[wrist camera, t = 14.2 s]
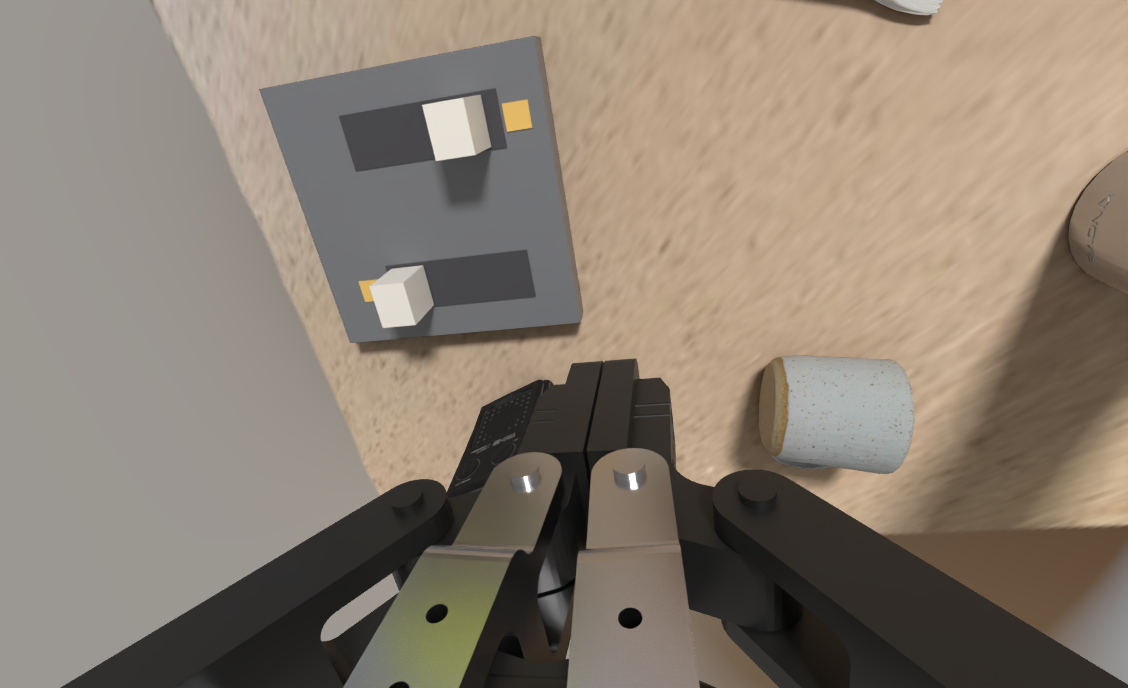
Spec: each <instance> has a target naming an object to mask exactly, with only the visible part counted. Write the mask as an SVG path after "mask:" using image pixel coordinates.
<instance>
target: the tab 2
mask: <svg viewBox="0 0 1128 688" xmlns="http://www.w3.org/2000/svg"><path fill="white" fill-rule="evenodd" d="M422 107H423V111H424V115H425V119H426V123H427V127H428V131H429V135H430V139H431V143H432V147H433V151H434V155H435V159H436V161H440V160H446V159H453V158H459V157H466V156H472V155H476V154H478V153H480V152H482V151H484V150H486V149H488V148H490V147H491V143H490V138H489V133H488V128H487V123H486V118H485V113H484V108H483V104H482V99H481V95H475V96H469V97H464V98H458V99H452V100H447V101H441V102H436V103H430V104H425V105H422Z"/></svg>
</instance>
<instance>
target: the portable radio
mask: <svg viewBox="0 0 1128 688" xmlns="http://www.w3.org/2000/svg"><path fill="white" fill-rule="evenodd" d="M551 385H553V383H552V382H551V381H549V380H544V381H542V380H537V381H535V382H533V383H531V384H528V385H526V386H524V387H522V388H520V389H518V390H516V391H514V392H511V393H509V394H507V395H505V396H503V397H501V398H499V399H497V400H495V401H493V402H491V403H489V404H487V405H485V406H483V407H482V408H481V411H480V413H479V416H478V419H477V422H476V425H475V427H474V430H473V432H472V435H471V437H470V440H469V442H468V444H467V447H466V449H465V452H464V454H463V456H462V459H461V461H460V463H459V465H458V468H457V470H456V472H455V475H454V477H453V479H452V482H451V484H450V486H449V488H448V491H447V496H448V498H452V497H456V496H459V495H463V494H467V493H471V492H475V491H478V490H481V489H483V487H484V485H485V484H486V482H487V480H488V478H489V476H490V474H491V473H492V471H493V470H494V469H495V468H496V467H497V466H498V465H499V464H500V463H502V462H503V461H505V460H507V459H509V458H511V457H513V456H516V455H517V453H518V450H519V448H520V445H521V443H522V440H523V437H524V435H525V432H526V429H527V427H528V424H530V419H531V416H532V414H533V413H534V409H535V406H536V403H537V401H538V398H539V397H540V396H541V395H542V394H543V393H544V392H545V391H546V390H547V389H548V388H549V387H550V386H551Z"/></svg>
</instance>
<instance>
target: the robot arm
mask: <svg viewBox="0 0 1128 688" xmlns="http://www.w3.org/2000/svg"><path fill="white" fill-rule="evenodd" d="M1068 239H1069V245H1070V251H1071V253H1072V255H1073V257H1074V259H1075V261H1076V263H1077V264H1078V265H1079V266H1080V267H1081V268H1082V269H1083V270H1084V272H1085V273H1087V274H1089V275H1090V276H1092V277H1094V278H1095V279H1097V280H1099V281H1101V282H1103V283H1105V284H1107V285H1109V286H1111V287H1113V288H1115V289H1117V290H1119V291H1122V292H1124V293H1126V294H1128V151H1127V152H1126V153H1124V154H1123V155H1121V156H1119V157H1118V158H1116V159H1115V160H1114V161H1113V162H1111V163H1110V164H1109V165H1108V166H1107V167H1106V168H1105V169H1103V170H1102V171H1101V172H1100V173H1099V174H1098V175H1097V176H1096V177H1095V178H1094V180H1093V181H1092V182H1091V183H1090V184H1089V186H1088V187H1087V188H1086V189H1085V191H1084V192H1083V194H1082V196H1081V197H1080V199H1079V201H1078V203H1077V204H1076V206H1075V209H1074V212H1073V215H1072V217H1071V220H1070V226H1069V235H1068ZM391 573H392V574H393V576H394V579H395V582H396V584H397V587H398V589H399V591H400V592H399V593H398V594H396V595H395V596H394V597H392V598H391V599H389V600H388V601H386V602H385V603H384V604H382V605H381V606H380V607H378V608H377V609H375V610H374V611H373V612H371V613H370V614H369V615H367V616H366V617H364V618H363V619H362V620H360V621H359V622H358V623H356V624H355V625H353V626H352V627H351V628H349V629H348V630H346V631H345V632H344V633H342V634H341V635H339V636H338V637H336V638H335V639H332V640H330V641H323V642H322V641H321V638H320V636H321V631H322V628H323V626H324V624H325V623H326V621H327V620H328V619H329V617H330V616H332V615H333V614H334V613H335V612H336V611H338V610H339V609H341V608H342V607H344V606H345V605H346V604H348V603H349V602H351V601H352V600H354V599H355V598H356V597H358V596H359V595H361V594H362V593H364V592H365V591H367V590H368V589H369V588H371V587H372V586H374V585H375V584H377V583H378V582H380V581H381V580H382V579H384V578H385V577H387V576H388V575H390V574H391ZM689 609H691V610H694V611H697V612H700V613H703V614H707V615H710V616H713V617H716V618H719V619H721V621H722V625H723V627H724V630H725V631H726V633H727V634H728V636H729V637H730V638H731V639H732V640H733V641H734V642H735V643H736V644H737V645H738V646H739V647H740V648H741V649H742V650H743V651H744V652H745V653H746V654H747V655H748V656H749V657H750V658H751V659H752V660H753V661H754V662H755V663H756V664H757V665H758V667H759V668H760V669H761V670H763V672H765V673H766V675H768V676H769V678H770V679H771V680H772V681H773V682H774V683H775V684H777V686H778V687H779V688H1128V685H1127V684H1126V683H1124V682H1122V681H1121V680H1119V679H1118V678H1116V677H1114V676H1113V675H1111V674H1109V673H1108V672H1106V671H1104V670H1103V669H1101V668H1099V667H1098V666H1096V665H1095V664H1093V663H1091V662H1089V661H1088V660H1086V659H1085V658H1083V657H1081V656H1080V655H1078V654H1076V653H1075V652H1073V651H1071V650H1070V649H1068V648H1066V647H1065V646H1063V645H1062V644H1060V643H1058V642H1057V641H1055V640H1053V639H1052V638H1050V637H1048V636H1047V635H1045V634H1043V633H1042V632H1040V631H1039V630H1037V629H1035V628H1034V627H1032V626H1030V625H1029V624H1027V623H1025V622H1024V621H1022V620H1020V619H1019V618H1017V617H1015V616H1014V615H1012V614H1011V613H1009V612H1007V611H1006V610H1004V609H1002V608H1001V607H999V606H997V605H996V604H994V603H992V602H991V601H989V600H987V599H986V598H984V597H983V596H981V595H979V594H977V593H976V592H974V591H973V590H971V589H969V588H968V587H966V586H964V585H963V584H961V583H959V582H958V581H956V580H954V579H953V578H951V577H950V576H948V575H946V574H945V573H943V572H941V571H940V570H938V569H936V568H935V567H933V566H931V565H930V564H928V563H926V562H925V561H923V560H921V559H920V558H918V557H917V556H915V555H913V554H912V553H910V552H908V551H907V550H905V549H903V548H902V547H900V546H899V545H897V544H895V543H893V542H892V541H890V540H889V539H887V538H885V537H884V536H882V535H880V534H879V533H877V532H875V531H874V530H872V529H871V528H869V527H867V526H866V525H864V524H862V523H861V522H859V521H857V520H856V519H854V518H852V517H851V516H849V515H847V514H846V513H844V512H843V511H841V510H839V509H838V508H836V507H834V506H833V505H831V504H829V503H828V502H826V501H824V500H823V499H821V498H819V497H818V496H816V495H815V494H813V493H811V492H810V491H808V490H806V489H805V488H803V487H801V486H800V485H798V484H796V483H795V482H793V481H791V480H790V479H788V478H786V477H784V476H782V475H780V474H777V473H774V472H770V471H765V470H743V471H738V472H734V473H731V474H729V475H727V476H725V477H724V478H722V479H721V480H720V481H719V482H718V483H717V484H716V486H715V487H711V486H707V485H702V484H698V483H696V482H693V481H691V480H689V479H687V478H685V477H684V476H682V475H681V474H680V473H679V472H678V471H677V470H676V453H675V437H674V427H673V417H672V408H671V398H670V389H669V388H668V386H667V385H666V384H665V383H664V382H663V381H662V379H661V378H649V379H640V378H639V370H638V364H637V360H636V359H623V360H610V361H605V362H603V361H598V362H585V363H573V364H572V365H571V368H570V371H569V374H568V377H567V381H566V384H562V385H551V386H550V387H549V388H548V389H547V390H546V391H545V392H544V393H543V394H542V395H541V396H540V397H539V398H538V401H537V403H536V406H535V409H534V413H533V414H532V416H531V419H530V424H528V427H527V429H526V432H525V435H524V437H523V440H522V443H521V445H520V448H519V450H518V453H517V455H516V456H513V457H511V458H509V459H507V460H505V461H503V462H502V463H500V464H499V465H498V466H497V467H496V468H495V469H494V470H493V471H492V473H491V474H490V476H489V478H488V480H487V482H486V484H485V485H484V487H483V489H481V490H478V491H475V492H471V493H467V494H463V495H459V496H456V497H452V498H448V496H447V493H446V490H445V488H444V486H443V485H442V484H441V483H439V482H437V481H434V480H429V479H420V480H413V481H409V482H406V483H403V484H401V485H398V486H396V487H394V488H393V489H391V490H389V491H387V492H386V493H384V494H382V495H381V496H379V497H377V498H376V499H374V500H372V501H371V502H369V503H367V504H366V505H364V506H362V507H361V508H360V509H358V510H356V511H354V512H352V513H351V514H349V515H348V516H346V517H344V518H342V519H341V520H339V521H338V522H336V523H334V524H333V525H331V526H329V527H328V528H326V529H324V530H322V531H321V532H319V533H318V534H316V535H314V536H312V537H311V538H309V539H307V540H306V541H304V542H302V543H301V544H299V545H298V546H296V547H294V548H293V549H291V550H289V551H287V552H286V553H284V554H282V555H281V556H279V557H278V558H276V559H274V560H273V561H271V562H269V563H267V564H266V565H264V566H263V567H261V568H259V569H258V570H256V571H254V572H252V573H251V574H250V575H247V576H246V577H244V578H242V579H241V580H239V581H237V582H236V583H234V584H232V585H231V586H229V587H228V588H226V589H224V590H222V591H221V592H219V593H217V594H216V595H214V596H212V597H211V598H209V599H207V600H206V601H204V602H202V603H201V604H199V605H197V606H196V607H194V608H193V609H191V610H189V611H188V612H186V613H184V614H182V615H181V616H179V617H178V618H176V619H174V620H172V621H171V622H169V623H167V624H166V625H164V626H162V627H161V628H159V629H158V630H156V631H154V632H152V633H151V634H149V635H148V636H146V637H144V638H142V639H141V640H139V641H137V642H136V643H134V644H132V645H131V646H129V647H128V648H126V649H124V650H122V651H121V652H119V653H118V654H116V655H114V656H113V657H111V658H109V659H108V660H106V661H104V662H102V663H101V664H99V665H97V666H96V667H94V668H93V669H91V670H89V671H88V672H86V673H84V674H82V675H81V676H79V677H77V678H76V679H74V680H72V681H71V682H70V683H68V684H66V685H64V686H62V687H61V688H715V687H713V686H711V685H708V684H706V683H704V682H702V681H699V678H698V671H697V663H696V656H695V649H694V642H693V634H692V627H691V620H690V613H689ZM570 639H571V643H570ZM569 643H570V655H569V659H566V655H567V651H568V647H569Z"/></svg>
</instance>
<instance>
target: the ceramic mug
mask: <svg viewBox="0 0 1128 688" xmlns="http://www.w3.org/2000/svg"><path fill="white" fill-rule="evenodd" d="M914 419H915V415H914V403H913V394H912V388H911V386H910V383H909V380H908V377H907V375H906V373H905V371H904V370H903V368H902V367H901V366H900V365H899V364H898V363H897V362H895V361H892V360H889V359H864V358H843V357H817V356H807V355H794V356H783V357H778V358H775V359H773V360H772V361H771V362H770V363H769V364H768V365H767V366H766V369H765V371H764V375H763V379H762V384H761V389H760V400H759V432H760V438H761V442H762V446H763V447H764V449H765V450H766V451H767V452H768V453H769V454H770V455H771V456H772V458H773V459H775V460H776V461H777V462H779V463H781V464H784V465H787V466H790V467H795V468H800V469H826V468H831V467H838V468H844V469H852V470H858V471H865V472H872V473H879V474H889V473H893V472H894V471H896V470H897V469H898V468H899V467H900V466H901V465H902V463H903V461H904V459H905V457H906V455H907V453H908V450H909V447H910V442H911V437H912V433H913V427H914Z"/></svg>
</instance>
